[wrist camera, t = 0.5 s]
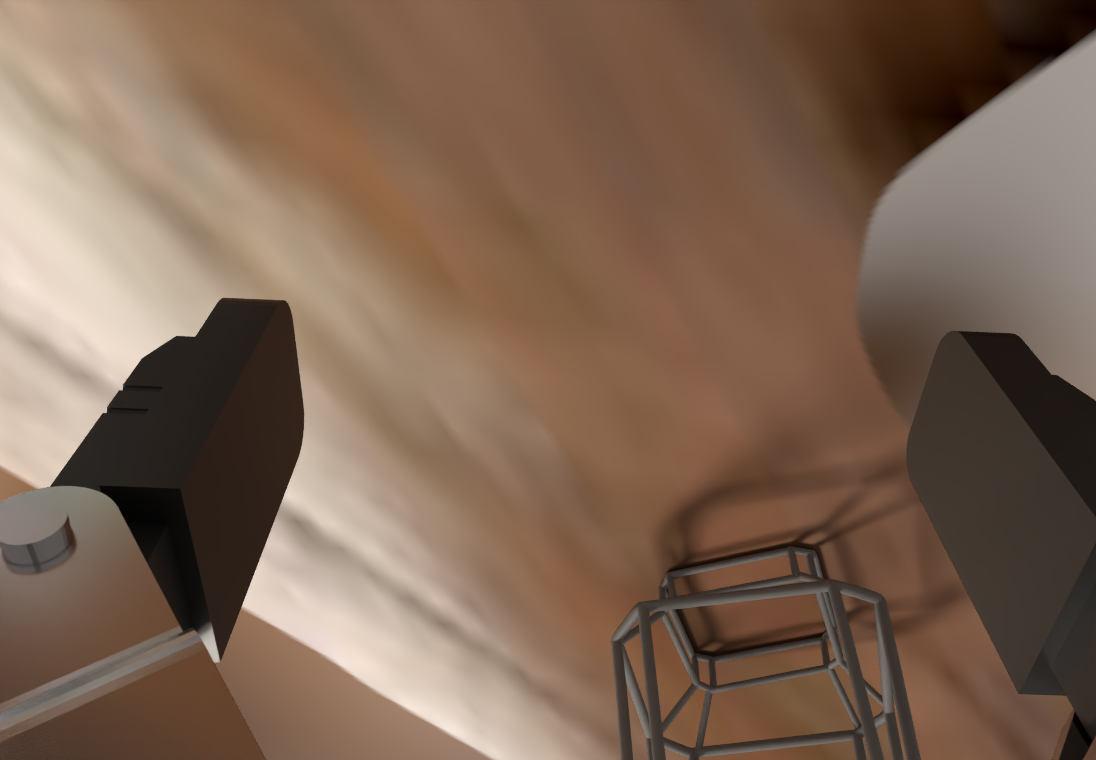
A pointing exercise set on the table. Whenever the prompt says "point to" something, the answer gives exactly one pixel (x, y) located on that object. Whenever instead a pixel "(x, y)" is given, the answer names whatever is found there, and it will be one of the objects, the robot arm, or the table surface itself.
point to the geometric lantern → (757, 591)
